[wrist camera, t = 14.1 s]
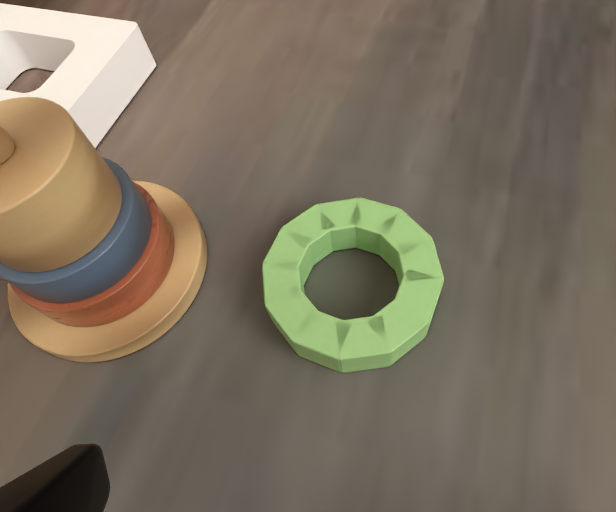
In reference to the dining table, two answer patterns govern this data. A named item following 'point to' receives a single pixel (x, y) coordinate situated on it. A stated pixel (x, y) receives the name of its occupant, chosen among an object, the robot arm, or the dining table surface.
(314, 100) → the dining table surface
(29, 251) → the ring stand
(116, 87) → the holder
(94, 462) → the robot arm
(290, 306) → the green ring
